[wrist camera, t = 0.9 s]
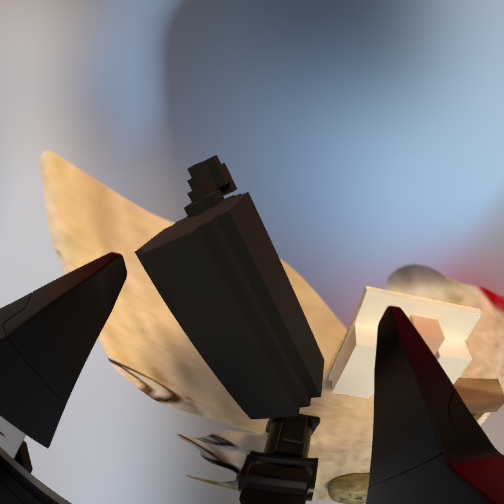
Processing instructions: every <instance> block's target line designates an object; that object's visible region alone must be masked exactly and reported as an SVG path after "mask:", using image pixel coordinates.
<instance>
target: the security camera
mask: <svg viewBox="0 0 504 504" xmlns="http://www.w3.org/2000/svg"><path fill="white" fill-rule="evenodd" d="M188 171H189V173H190V175H191V177H192V178H191V179H190V180H188V183H189V185H190V187H191V189H192V191H191V192H189V193H188V196H189V197H190V199H191V201H192V203H190V204H189V205H187V206H186V207H185V208H184V209H185V211H186V213H187V215H188V216H187V217H186V218H184V219H182V220H180V221H178V222H176V223H175V224H173V225H172V226H170V227H168V228H166V229H164V230H163V231H161V232H160V233H159V234H157V235H156V236H155V237H153V238H152V239H151V240H150V241H148V242H147V243H146V244H144V245H143V246H142V247H141V248H139V249H138V250H137V251H136V252H135V253H136V255H137V257H138V259H139V260H140V262H141V264H142V265H143V267H144V269H145V271H146V272H147V274H148V276H149V277H150V279H151V281H152V282H153V284H154V286H155V287H156V289H157V290H158V292H159V294H160V295H161V297H162V298H163V300H164V302H165V303H166V305H167V306H168V308H169V309H170V311H171V312H172V314H173V316H174V317H175V319H176V320H177V322H178V323H179V325H180V326H181V328H182V329H183V330H184V332H185V333H186V335H187V336H188V338H189V339H190V341H191V342H192V344H193V345H194V346H195V348H196V349H197V351H198V352H199V353H200V355H201V356H202V358H203V359H204V360H205V362H206V363H207V365H208V366H209V367H210V369H211V370H212V371H213V373H214V374H215V375H216V377H217V378H218V379H219V381H220V382H221V383H222V385H223V386H224V387H225V388H226V390H227V391H228V392H229V394H230V395H231V396H232V397H233V399H234V400H235V401H236V402H237V404H238V405H239V406H240V407H241V408H242V410H243V411H244V412H245V413H246V414H247V415H248V417H249V418H250V419H266V418H280V417H292V416H298V415H299V410H300V407H308V406H310V402H311V398H315V397H321V391H322V381H323V369H324V358H323V356H322V354H321V352H320V349H319V347H318V345H317V342H316V340H315V338H314V335H313V333H312V331H311V329H310V326H309V324H308V322H307V319H306V317H305V315H304V313H303V310H302V308H301V306H300V304H299V301H298V299H297V297H296V295H295V292H294V290H293V288H292V286H291V284H290V281H289V279H288V277H287V275H286V272H285V270H284V268H283V266H282V264H281V261H280V259H279V257H278V255H277V253H276V250H275V248H274V246H273V244H272V242H271V240H270V237H269V235H268V233H267V231H266V229H265V227H264V225H263V222H262V220H261V218H260V216H259V214H258V212H257V210H256V207H255V205H254V203H253V201H252V199H251V197H250V195H249V193H248V192H247V193H245V194H242V195H241V194H238V195H236V196H234V195H233V196H230V197H228V198H226V199H224V197H223V196H224V195H226V194H229V193H231V192H233V191H235V190H236V189H237V188H236V185H235V184H234V181H233V179H232V177H231V175H230V173H229V171H228V169H227V167H226V165H225V163H222V164H221V163H220V161H219V159H218V157H217V155H216V156H213V157H211V158H209V159H207V160H205V161H203V162H201V163H198V164H195V165H193V166H192V167H190V168H188Z"/></svg>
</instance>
